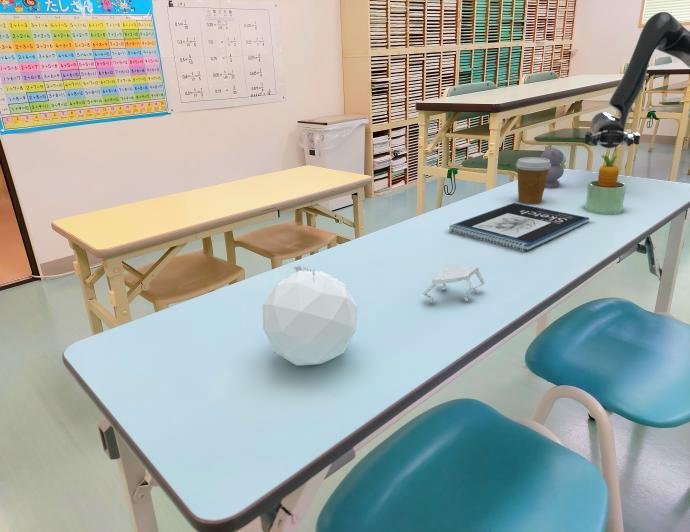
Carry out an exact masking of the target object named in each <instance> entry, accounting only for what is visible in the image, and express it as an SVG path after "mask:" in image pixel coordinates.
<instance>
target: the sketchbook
mask: <svg viewBox="0 0 690 532" xmlns="http://www.w3.org/2000/svg"><path fill="white" fill-rule="evenodd" d="M589 222H590V217H588V216H583V215H577V214H573V213H567V212H563V211H557V210H552V209H547V208H543V207H539V206H538V207H537V206H532V205H529V204H528V205H527V204H524V203H517V202H512V203H509V204H507V205H503V206H501V207H498V208H496V209H493V210H490V211H487V212H484V213H482V214H479V215H475V216H473V217H470V218H467V219H465V220H462V221H459V222H456V223H453V224H450V225H449V226H448V227H449V229H448V230H449V232H450V233H454V234H457V235H460V236H466V237H468V238H472V239H477V240H480V241H483V242H487V243H490V244H491V243H493V244H494V245H495V244H496V245H499V246H502V247H506V248H509V249H513V250H516V251H520V252H526V251H527V252H528V251H529V250H532V249H535V248H536V247H538V246H540V245H543V244H545V243H547V242H549V241H551V240H553V239H555V238H558V237H560V236H562V235H564V234H566V233H568V232H570V231H572V230H575V229H577V228H578V227H579V228H580V227H581V226H583V225H586V224H587V223H589Z"/></svg>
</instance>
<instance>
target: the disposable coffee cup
mask: <svg viewBox="0 0 690 532" xmlns="http://www.w3.org/2000/svg"><path fill="white" fill-rule="evenodd" d="M515 166H516V170H517V172H516V173H517V192H518V193H517V194H518V195H517V196H518V202H519V203H521V204H525V205H527V204H528V205H536V204H540V203H542V199H543V195H544V192H545V188H546V187H545V184H546V180H547V175H548V171H549V169H550V167H551V164H550V160H549V159H546V158H541V156H540V157H538V156H537V157H536V156H527V157H526V156H525V157H520V158H518V159H517V162H516V163H515Z"/></svg>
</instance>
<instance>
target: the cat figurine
mask: <svg viewBox="0 0 690 532" xmlns="http://www.w3.org/2000/svg"><path fill="white" fill-rule="evenodd" d="M540 158H546V159H549V160H550V164H551V167H550V169H549V171H548V175H547V180H546V184H545V188H549V189H552V188H553V189H554V188H558V187H560V180H559V179H561V178H562V177H563V175H564V172H565V170H564V166H563V165H562V163H563V161H564V153H563V151H562V150H561V149H559V148H557V147H548V146H546V145H545V146H544V150H543V152H542V153H541V156H540Z"/></svg>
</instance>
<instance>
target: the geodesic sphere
mask: <svg viewBox="0 0 690 532" xmlns="http://www.w3.org/2000/svg"><path fill="white" fill-rule="evenodd" d="M302 266H303V268H302V267H301V265H295V266H293V269H294V271H296V272H293V273H292V274H291V275H289V276H288V277H286V278H284V279H283V280H281V281H279V282H278V283H276V285H275V286H274V288H272V290H271V292H270V293H269V294H268V296H267V298H266V299H265V301H263V303H262V329H263V331H264V333H265V335H266V337H267V338H266V339H268V342H269V343H270V346H271V348H272V351H273V352H274V353H276V354H277V355H278V356H280V357H282V358H284V359H285V360H286V361H288V362H290V363H292V364H293V365H294V366H299V367H300V366H317V365H323V364H325V363H327V362H328V361H331V360H333V359H335V358H337V357H338V356H341V355H343V354H344V352H345V351H346V350H347V347H348V346H349V343H350V342H351V340H352V338H353V337H354V335H355V333H356V331H357V321H358V305H357V304H356V302H355V300H354V298H353V296H352V294H351V292H350V291H349V289H348V287H347V285H346V283H344V282H342V281H340V280H339V279H337V278H335V277H334V276H331V275H330V274H328V273H326V272H325V271H321V270H319V271H318V270H312V269H311V268H308V267H305V266H304V265H302Z"/></svg>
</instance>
